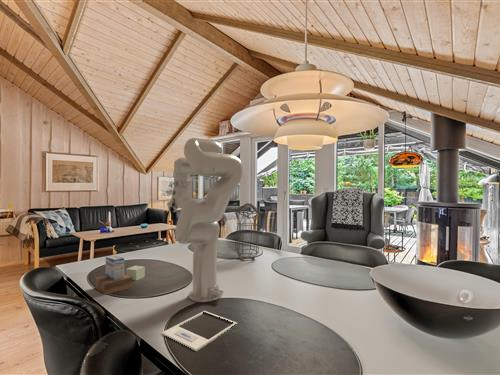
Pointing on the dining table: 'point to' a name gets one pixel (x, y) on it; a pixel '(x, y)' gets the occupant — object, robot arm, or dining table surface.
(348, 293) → the dining table surface
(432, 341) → the dining table surface
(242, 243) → the geometric lantern
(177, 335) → the photo frame
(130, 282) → the walnut block
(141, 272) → the sage block
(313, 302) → the dining table surface
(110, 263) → the medicine box
